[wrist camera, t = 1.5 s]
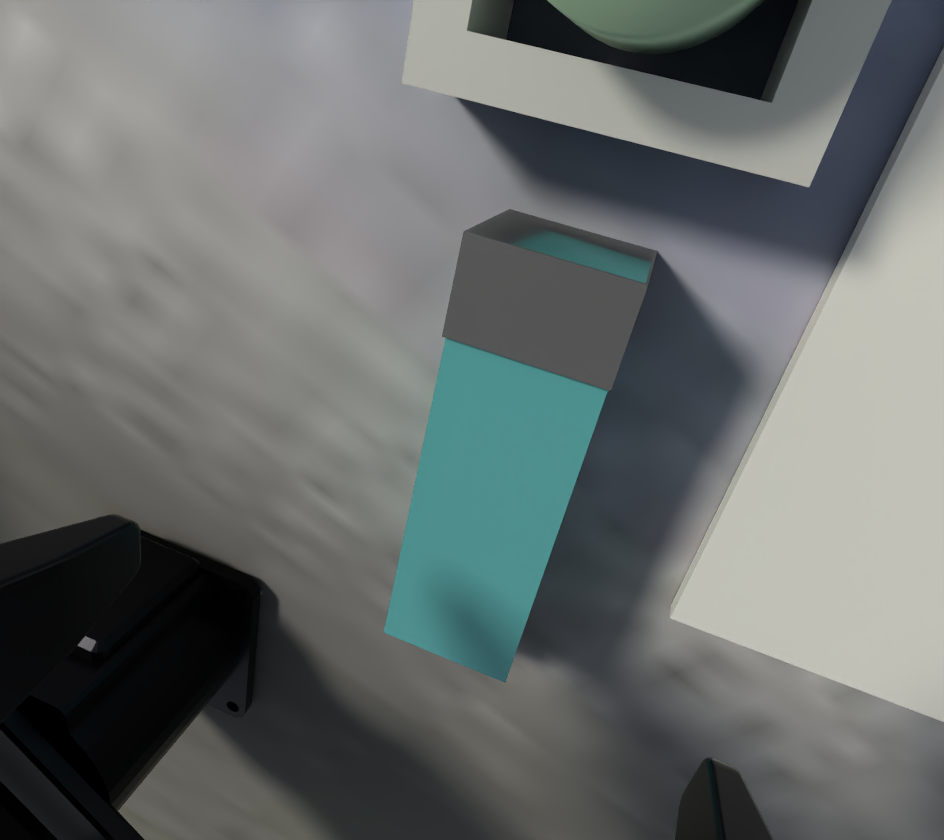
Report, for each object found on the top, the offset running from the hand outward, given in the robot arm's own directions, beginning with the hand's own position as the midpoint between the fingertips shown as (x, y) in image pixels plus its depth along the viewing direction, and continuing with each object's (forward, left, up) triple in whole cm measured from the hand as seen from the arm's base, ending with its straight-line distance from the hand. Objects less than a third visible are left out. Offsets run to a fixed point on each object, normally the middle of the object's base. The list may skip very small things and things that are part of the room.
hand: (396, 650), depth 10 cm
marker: (0, 0, -8) cm, 8 cm away
